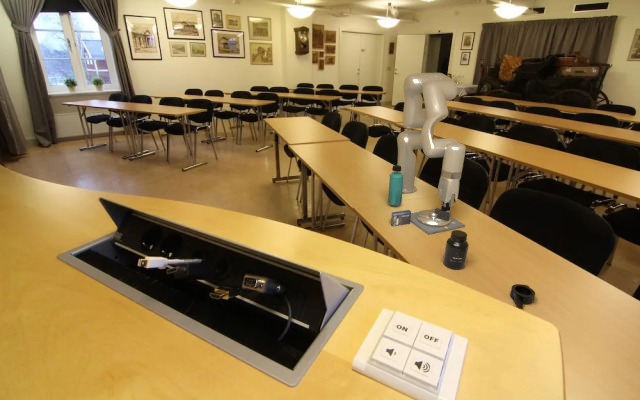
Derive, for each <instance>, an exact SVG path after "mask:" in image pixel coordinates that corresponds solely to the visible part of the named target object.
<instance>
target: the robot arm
mask: <svg viewBox="0 0 640 400" xmlns="http://www.w3.org/2000/svg"><path fill="white" fill-rule="evenodd" d="M402 89H403V94H404V103H403V110H402V111H403V114H402V126H403V127H404V128H405V129H409V130H405V131H401V132H399V134H398V135H397V137H396V141H397V164H396V165H399V166H401V171H400V173H402V174H403V188H402V190H403V191H402V194H412V193H415V192H416V191H417V189H418V188H417V186H415V181H416V169H417V156H416V154H415V152H414V150H422V151H423V154H424V155H425V156H426V158H429V159H430V158H431V159H433V158H443V159H442V168H441V173H440V178H439V183H438V187H437V193H436V194H437V195H436V196H438V198H439V199H440V200H441V204H440V205H441V207H440V209H443V210H448V211H451V207H454V205H455V204H456V203H457V202H458V198H459V191H460V190H459V189H460V180H462V179H461V178H462V173H463V168H464V161H465V157H466V156H465V155H466V149H467V147H466V145H465V144H464V143H461V142H459V141H458V140H457V139H456V138H452V137H449V138H447V137H446V138H434V132H435V125H436V123H439V122H440V121H443V120H445V119H446V118H447V117H448V116H449V109H448V104H447V101H451V100H454V99H455V98H456V97H457V95H458V85H457V83H456V81H455V80H454V79H453V78H451V77H449V76H447V75H446V74H444V73H442V72H417V73H411V74H408V75H407V76H406V77H405V79H404V81H403V87H402ZM421 93H422V94H421ZM423 103H424V108H423ZM413 129H414V130H413ZM415 129H418V130H415ZM419 129H420V130H419Z"/></svg>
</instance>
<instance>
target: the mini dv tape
mask: <svg viewBox="0 0 640 400" xmlns="http://www.w3.org/2000/svg"><path fill="white" fill-rule="evenodd" d="M411 213H412V211H411V209H407V210H399V211H392V212H391V220H390V226H391V227H399V226H407V225H410V224H411V222H410V219H411Z"/></svg>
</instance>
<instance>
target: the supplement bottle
mask: <svg viewBox="0 0 640 400" xmlns="http://www.w3.org/2000/svg"><path fill="white" fill-rule="evenodd" d="M467 240H468V234H467V233H466V231H463V230H460V229H454V230H451V232H450V237H449V238H447V239H446V243H445V248H444V255H443V261H442V262H443V263H442V264H443V265H444V266H445V267H447V268H449V269H451V270H462V269H463V268H464V267H465V266H466V261H467V255H468V251H469V245H470V244H469V242H468V241H467Z"/></svg>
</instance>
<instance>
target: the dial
mask: <svg viewBox="0 0 640 400" xmlns="http://www.w3.org/2000/svg"><path fill="white" fill-rule="evenodd" d="M434 209H435V210H431V209H425V210H423V209H422V210H420V211H417V212H418V213H417V215H416V219H417V220H418V221H419V222H420V223H422V224H424V225H428V226H433V227H443V226H447V225H449V224H450V222H451V217H452V216H451V210H450V211H448V210H443V209H441V208H438V207H435V208H434ZM450 216H451V217H450Z"/></svg>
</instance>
